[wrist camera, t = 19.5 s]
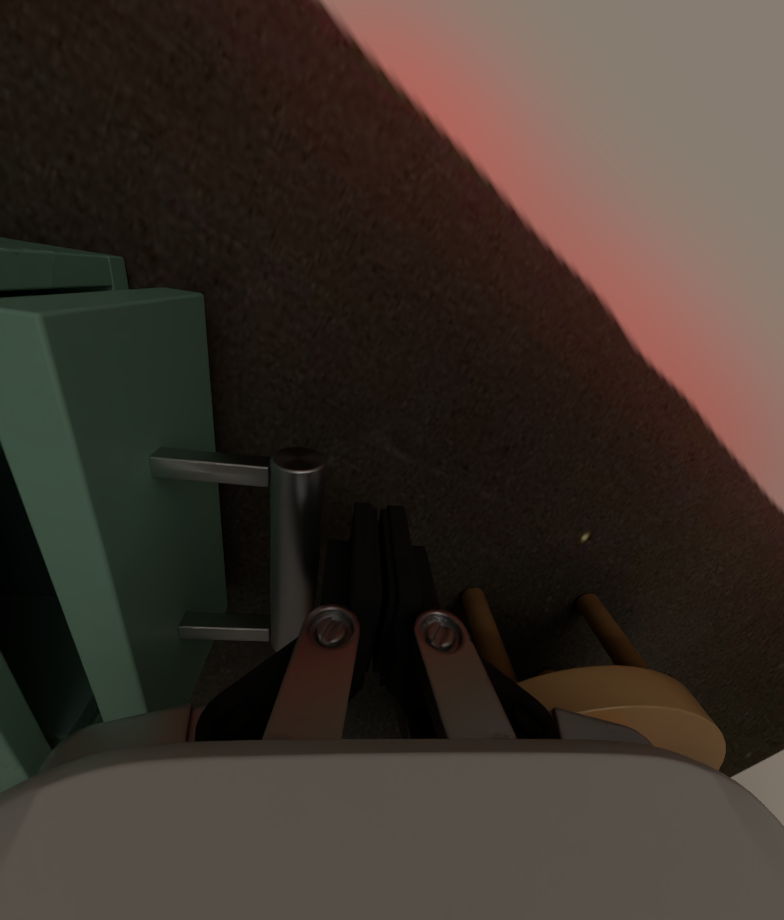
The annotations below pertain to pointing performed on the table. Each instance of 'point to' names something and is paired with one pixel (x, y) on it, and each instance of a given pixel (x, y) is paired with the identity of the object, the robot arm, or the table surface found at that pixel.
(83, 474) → the cabinet drawer
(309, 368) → the table surface
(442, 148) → the table surface
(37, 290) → the green drawer box
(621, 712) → the stool
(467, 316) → the table surface
